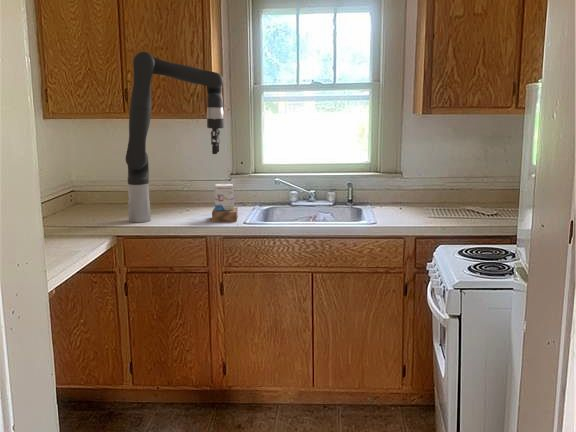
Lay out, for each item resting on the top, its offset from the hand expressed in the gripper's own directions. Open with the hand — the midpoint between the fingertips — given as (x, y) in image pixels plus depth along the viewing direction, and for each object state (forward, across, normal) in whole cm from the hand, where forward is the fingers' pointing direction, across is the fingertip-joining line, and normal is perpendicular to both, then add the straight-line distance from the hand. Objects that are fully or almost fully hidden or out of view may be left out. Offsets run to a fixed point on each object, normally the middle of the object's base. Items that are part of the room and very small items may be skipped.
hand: (215, 153), depth 268 cm
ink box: (+26, +5, +4) cm, 27 cm away
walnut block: (+31, +5, +4) cm, 31 cm away
